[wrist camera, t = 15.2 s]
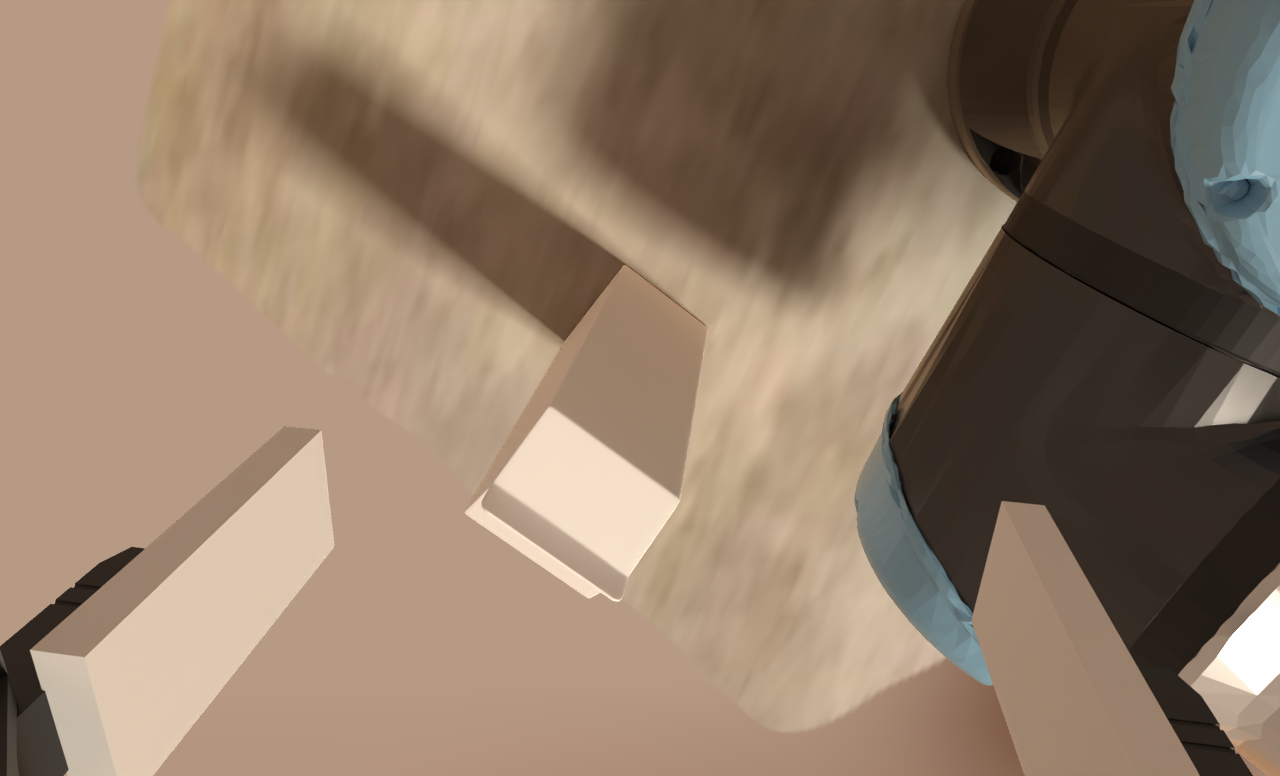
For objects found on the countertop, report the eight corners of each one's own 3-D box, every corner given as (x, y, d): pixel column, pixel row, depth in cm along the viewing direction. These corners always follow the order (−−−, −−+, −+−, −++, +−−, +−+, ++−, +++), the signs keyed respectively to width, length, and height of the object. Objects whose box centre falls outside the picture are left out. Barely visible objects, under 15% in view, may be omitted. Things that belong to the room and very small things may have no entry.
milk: (624, 262, 48) (527, 440, 28) (710, 328, 49) (676, 547, 29) (562, 342, 50) (431, 560, 30) (645, 404, 51) (572, 655, 31)
